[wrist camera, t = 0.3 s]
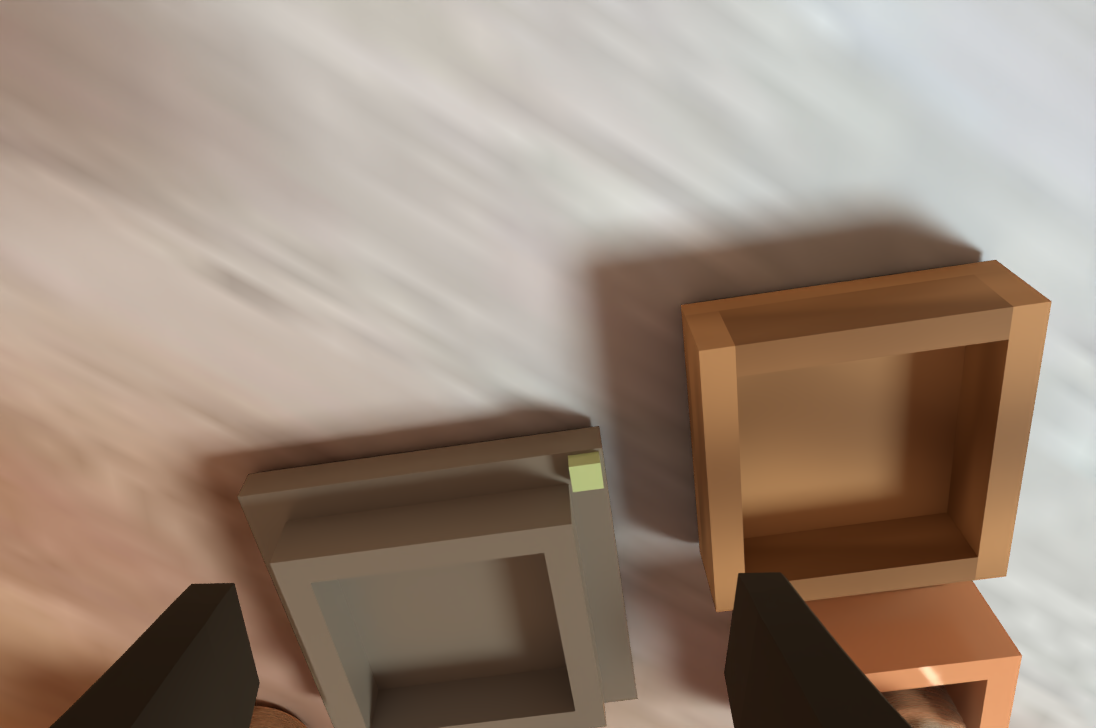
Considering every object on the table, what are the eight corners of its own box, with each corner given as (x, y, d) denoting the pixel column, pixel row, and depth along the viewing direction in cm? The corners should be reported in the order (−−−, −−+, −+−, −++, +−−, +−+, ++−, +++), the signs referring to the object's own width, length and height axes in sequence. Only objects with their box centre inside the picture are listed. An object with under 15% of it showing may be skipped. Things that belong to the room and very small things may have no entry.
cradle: (633, 672, 26) (644, 744, 24) (343, 708, 27) (325, 781, 25) (599, 426, 22) (607, 486, 20) (248, 474, 22) (216, 538, 20)
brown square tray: (963, 516, 24) (1006, 576, 22) (699, 550, 24) (716, 612, 22) (995, 259, 20) (1051, 301, 18) (680, 304, 20) (698, 351, 18)
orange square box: (946, 701, 27) (995, 794, 25) (766, 722, 28) (794, 816, 25) (963, 567, 25) (1021, 655, 22) (762, 592, 25) (793, 682, 22)
